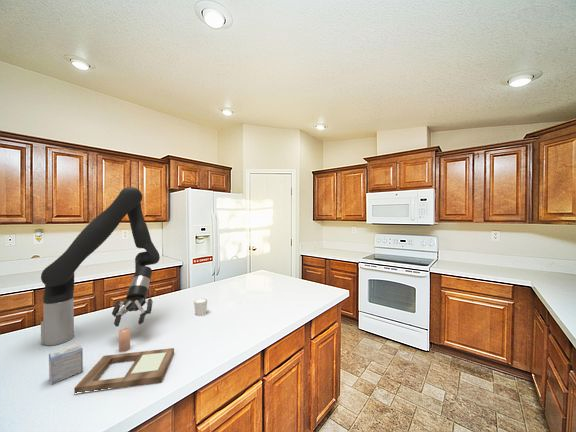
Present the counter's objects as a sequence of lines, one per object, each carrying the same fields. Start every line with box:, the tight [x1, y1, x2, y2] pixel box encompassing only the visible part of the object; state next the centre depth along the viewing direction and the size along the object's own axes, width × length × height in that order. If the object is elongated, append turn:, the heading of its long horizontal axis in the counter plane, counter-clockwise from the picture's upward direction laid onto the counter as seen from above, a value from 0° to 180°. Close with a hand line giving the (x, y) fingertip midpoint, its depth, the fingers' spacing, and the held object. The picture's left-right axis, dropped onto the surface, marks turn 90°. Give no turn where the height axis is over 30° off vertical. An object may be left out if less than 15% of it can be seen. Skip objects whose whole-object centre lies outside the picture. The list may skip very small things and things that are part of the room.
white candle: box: [193, 298, 208, 317], centre depth 127 cm, size 7×7×7 cm
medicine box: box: [48, 343, 84, 385], centre depth 79 cm, size 8×4×9 cm, turn 141°
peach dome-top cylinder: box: [118, 327, 131, 353], centre depth 94 cm, size 4×4×8 cm
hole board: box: [73, 347, 175, 394], centre depth 81 cm, size 24×16×2 cm, turn 103°
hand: (128, 324), depth 97 cm, fingers open, 8 cm apart
